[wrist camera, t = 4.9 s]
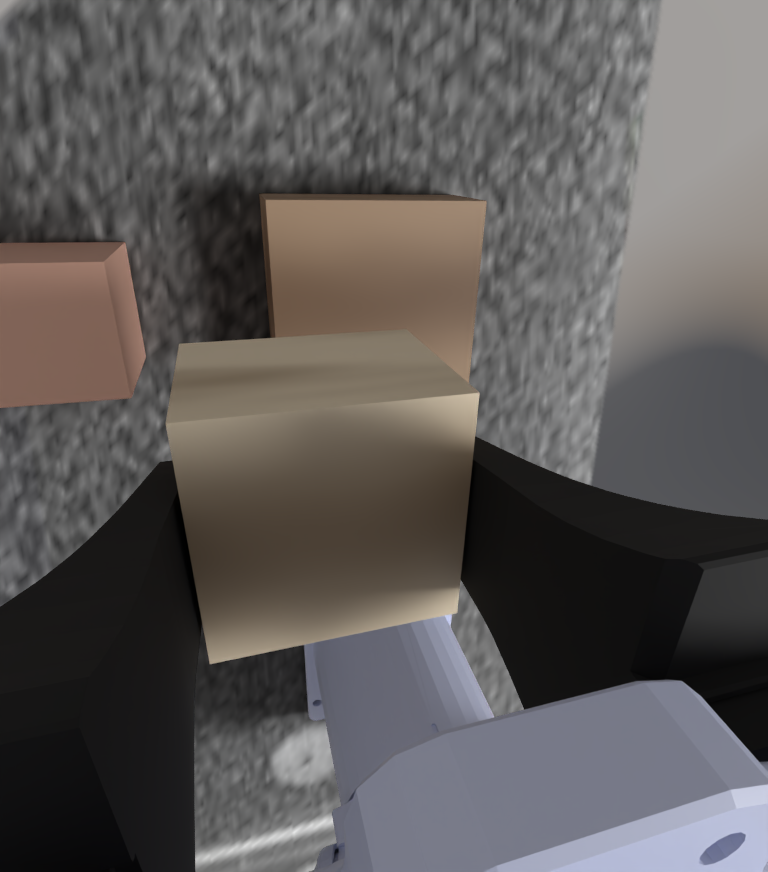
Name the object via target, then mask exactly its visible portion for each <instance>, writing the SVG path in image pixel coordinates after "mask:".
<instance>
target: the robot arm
mask: <svg viewBox="0 0 768 872" xmlns="http://www.w3.org/2000/svg"><path fill="white" fill-rule="evenodd" d="M461 581H462V582H463V584H464V586H465V587H466V589H467V591H468V593H469V594H470V596H471V598H472V599H473V601H474V603H475V604H476V606H477V608H478V610H479V611H480V613H481V615H482V616H483V618H484V620H485V622H486V624H487V626H488V628H489V630H490V632H491V634H492V636H493V638H494V640H495V642H496V645H497V647H498V649H499V651H500V654H501V656H502V658H503V660H504V663H505V665H506V667H507V669H508V671H509V674H510V676H511V679H512V681H513V683H514V686H515V688H516V691H517V693H518V695H519V698H520V700H521V703H522V705H523V707H524V710H521V711H517V712H513V713H509V714H505V715H501V716H497V717H494V715H493V713H492V711H491V709H490V707H489V705H488V703H487V701H486V699H485V697H484V695H483V693H482V691H481V689H480V687H479V685H478V682H477V680H476V678H475V676H474V674H473V672H472V670H471V668H470V666H469V664H468V662H467V660H466V658H465V656H464V654H463V652H462V650H461V648H460V645H459V643H458V641H457V639H456V637H455V635H454V633H453V631H452V629H451V627H450V626H451V617H452V614H450V615H445V616H440V617H435V618H430V619H426V620H421V621H416V622H411V623H406V624H402V625H397V626H392V627H387V628H382V629H377V630H373V631H368V632H363V633H358V634H353V635H348V636H344V637H339V638H334V639H329V640H324V641H320V642H315V643H310V644H305V645H304V655H305V671H306V686H307V702H308V714H309V718H310V719H311V720H321V719H325V721H326V726H327V732H328V737H329V742H330V748H331V753H332V758H333V764H334V769H335V775H336V780H337V785H338V791H339V796H340V802H341V806H340V807H338V808H336V809H334V810H333V811H332V816H333V822H334V828H335V834H336V840H337V843H336V844H333V845H329V846H326V847H324V848H323V849H322V850H321V851H320V854H319V856H318V859H317V865H316V867H315V869H314V870H313V871H310V872H768V520H763V519H755V518H745V517H735V516H725V515H718V514H711V513H706V512H700V511H693V510H688V509H682V508H676V507H671V506H666V505H661V504H657V503H652V502H648V501H644V500H640V499H636V498H632V497H627V496H624V495H620V494H616V493H613V492H609V491H605V490H603V489H599V488H596V487H593V486H590V485H587V484H584V483H581V482H578V481H575V480H572V479H570V478H567V477H564V476H562V475H559V474H557V473H554V472H552V471H549V470H547V469H545V468H542V467H540V466H537V465H535V464H533V463H530V462H528V461H526V460H524V459H522V458H519V457H517V456H515V455H513V454H511V453H509V452H507V451H505V450H502V449H500V448H498V447H496V446H494V445H492V444H490V443H488V442H486V441H484V440H482V439H480V438H477V437H475V442H474V452H473V462H472V472H471V482H470V491H469V501H468V511H467V521H466V530H465V540H464V550H463V560H462V570H461ZM201 627H202V619H201V613H200V608H199V602H198V597H197V591H196V586H195V580H194V575H193V570H192V564H191V559H190V553H189V548H188V542H187V537H186V531H185V526H184V520H183V515H182V510H181V504H180V499H179V493H178V488H177V482H176V477H175V471H174V466H173V461H165V462H160V463H159V464H158V465H157V466H156V467H155V468H154V469H153V471H152V472H151V473H150V474H149V475H148V476H147V477H146V479H145V480H144V481H143V482H142V483H141V485H140V486H139V487H138V488H137V489H136V490H135V492H134V493H133V494H132V495H131V496H130V497H129V499H128V500H127V501H126V502H125V503H124V504H123V505H122V506H121V507H120V508H119V510H118V511H117V512H116V513H115V514H114V515H113V516H112V517H111V518H110V519H109V520H108V521H107V522H106V523H105V524H104V525H103V526H102V527H101V528H100V529H99V530H98V531H97V532H96V533H95V534H94V535H93V536H92V537H91V538H90V539H89V540H88V541H87V542H85V543H84V544H83V545H82V546H81V547H80V548H79V549H78V550H76V551H75V552H74V553H73V554H72V555H71V556H69V557H68V558H67V559H66V560H65V561H63V562H62V563H61V564H60V565H58V566H57V567H56V568H55V569H53V570H52V571H51V572H49V573H48V574H47V575H46V576H44V577H43V578H42V579H40V580H39V581H38V582H36V583H35V584H33V585H32V586H30V587H29V588H28V589H26V590H25V591H23V592H22V593H20V594H19V595H17V596H16V597H14V598H13V599H11V600H10V601H8V602H7V603H5V604H4V605H3V606H1V607H0V872H195V820H194V697H195V682H196V670H197V661H198V653H199V644H200V636H201Z"/></svg>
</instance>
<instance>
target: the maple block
mask: <svg viewBox="0 0 768 872" xmlns="http://www.w3.org/2000/svg"><path fill="white" fill-rule="evenodd" d="M478 403H479V392H478V391H477V390H476V389H475V388H474V387H472V386H471V385H470V384H469V383H468V382H467V381H465V380H464V379H463V378H462V377H461V376H460V375H459V374H457V373H456V372H455V371H454V370H453V369H452V368H450V367H449V366H448V365H447V364H446V363H445V362H444V361H442V360H441V359H440V358H439V357H438V356H437V355H435V354H434V353H433V352H432V351H431V350H430V349H429V348H427V347H426V346H425V345H424V344H423V343H422V342H420V341H419V340H418V339H417V338H416V337H415V336H414V335H412V334H411V333H410V332H409V331H408V330H407V329H404V330H388V331H372V332H357V333H341V334H325V335H310V336H294V337H278V338H263V339H247V340H231V341H216V342H200V343H184V344H179V348H178V354H177V360H176V366H175V372H174V377H173V383H172V389H171V395H170V401H169V407H168V413H167V419H166V428H167V433H168V439H169V444H170V450H171V455H172V461H173V466H174V471H175V477H176V482H177V488H178V493H179V499H180V504H181V510H182V515H183V520H184V526H185V531H186V537H187V542H188V548H189V553H190V559H191V564H192V570H193V575H194V580H195V586H196V591H197V597H198V602H199V608H200V613H201V619H202V624H203V629H204V635H205V640H206V646H207V651H208V657H209V662H210V664H213V663H218V662H223V661H228V660H233V659H238V658H242V657H247V656H252V655H257V654H262V653H266V652H271V651H276V650H281V649H286V648H291V647H295V646H300V645H305V644H310V643H315V642H320V641H324V640H329V639H334V638H339V637H344V636H348V635H353V634H358V633H363V632H368V631H373V630H377V629H382V628H387V627H392V626H397V625H402V624H406V623H411V622H416V621H421V620H426V619H430V618H435V617H440V616H445V615H450V614H455V613H457V609H458V599H459V589H460V579H461V570H462V560H463V550H464V540H465V530H466V521H467V511H468V501H469V491H470V482H471V472H472V462H473V452H474V442H475V433H476V423H477V413H478Z"/></svg>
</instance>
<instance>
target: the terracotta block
mask: <svg viewBox="0 0 768 872" xmlns="http://www.w3.org/2000/svg"><path fill="white" fill-rule="evenodd" d="M145 358H146V354H145V349H144V343H143V338H142V332H141V327H140V321H139V316H138V310H137V305H136V299H135V294H134V288H133V283H132V277H131V272H130V266H129V261H128V255H127V250H126V244H125V242H66V243H0V408H5V407H19V406H32V405H46V404H59V403H73V402H86V401H100V400H114V399H127V398H131V397H132V395H133V392H134V389H135V386H136V383H137V381H138V378H139V375H140V372H141V370H142V367H143V364H144V361H145Z"/></svg>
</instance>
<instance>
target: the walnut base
mask: <svg viewBox="0 0 768 872" xmlns="http://www.w3.org/2000/svg"><path fill="white" fill-rule="evenodd" d="M259 196H260V209H261V223H262V236H263V249H264V262H265V275H266V288H267V301H268V314H269V327H270V338H278V337H294V336H310V335H325V334H341V333H357V332H372V331H388V330H404V329H407V330H408V331H409V332H410V333H411V334H412V335H414V336H415V337H416V338H417V339H418V340H419V341H420V342H422V343H423V344H424V345H425V346H426V347H427V348H429V349H430V350H431V351H432V352H433V353H434V354H435V355H437V356H438V357H439V358H440V359H441V360H442V361H444V362H445V363H446V364H447V365H448V366H449V367H450V368H452V369H453V370H454V371H455V372H456V373H457V374H459V375H460V376H461V377H462V378H463V379H464V380H465V381H467V382H468V383H469V374H470V364H471V354H472V344H473V334H474V323H475V313H476V303H477V293H478V283H479V273H480V263H481V253H482V243H483V233H484V223H485V212H486V202H487V201H484V200H478V199H473V198H467V197H461V196H456V195H392V194H259Z"/></svg>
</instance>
